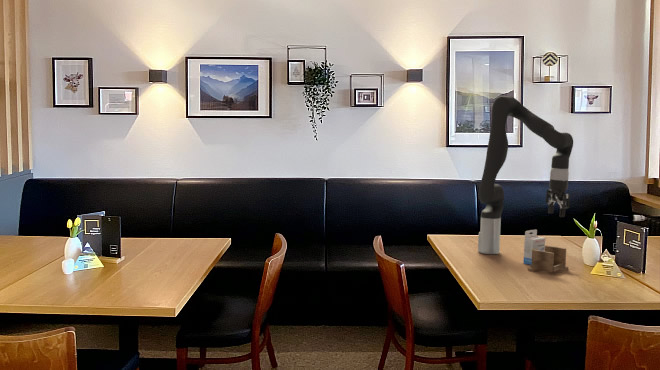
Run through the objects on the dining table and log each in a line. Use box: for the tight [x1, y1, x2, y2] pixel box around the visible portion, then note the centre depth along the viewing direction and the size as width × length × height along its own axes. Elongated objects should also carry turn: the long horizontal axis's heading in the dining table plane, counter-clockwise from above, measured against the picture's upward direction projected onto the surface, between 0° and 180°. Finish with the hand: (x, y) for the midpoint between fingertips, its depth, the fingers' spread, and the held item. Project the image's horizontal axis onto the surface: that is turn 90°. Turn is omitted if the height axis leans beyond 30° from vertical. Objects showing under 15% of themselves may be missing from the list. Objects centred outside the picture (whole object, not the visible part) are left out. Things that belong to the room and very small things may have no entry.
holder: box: [527, 244, 569, 276], centre depth 257 cm, size 11×15×9 cm
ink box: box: [522, 229, 546, 266], centre depth 268 cm, size 8×5×15 cm, turn 123°
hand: (556, 215), depth 263 cm, fingers open, 8 cm apart
